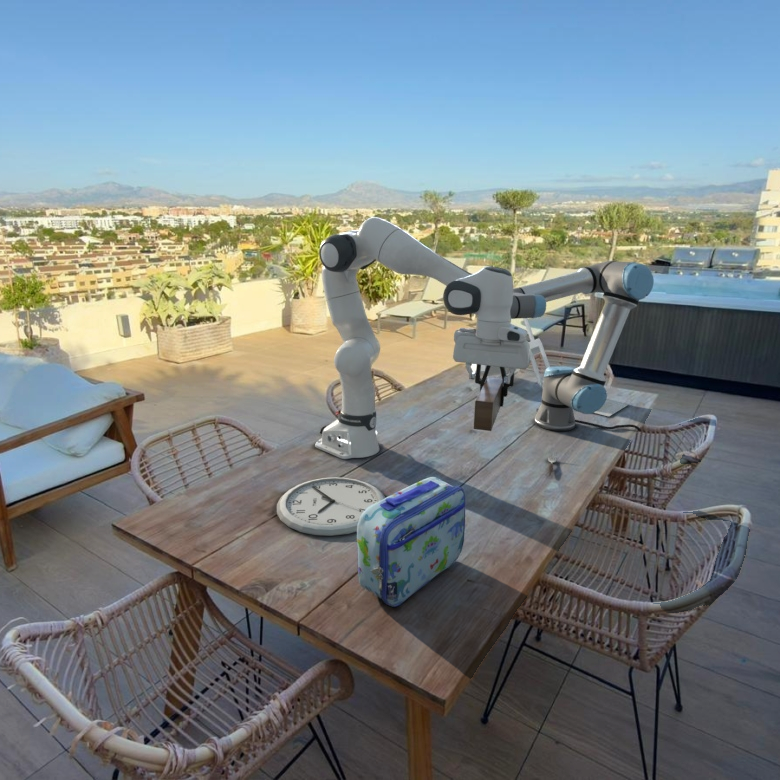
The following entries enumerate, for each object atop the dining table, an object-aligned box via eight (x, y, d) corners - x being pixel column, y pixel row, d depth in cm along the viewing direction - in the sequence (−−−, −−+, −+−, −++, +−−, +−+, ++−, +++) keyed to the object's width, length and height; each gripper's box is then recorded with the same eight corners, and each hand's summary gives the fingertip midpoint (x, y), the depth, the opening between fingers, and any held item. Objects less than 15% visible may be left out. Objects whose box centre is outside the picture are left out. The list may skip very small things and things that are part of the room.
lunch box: (386, 620, 101) (388, 525, 95) (350, 593, 108) (349, 503, 102) (468, 563, 119) (474, 480, 112) (432, 543, 126) (436, 464, 120)
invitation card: (608, 416, 214) (573, 407, 224) (608, 416, 214) (573, 408, 224) (628, 404, 229) (594, 396, 238) (628, 405, 229) (594, 397, 238)
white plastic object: (490, 419, 266) (470, 396, 241) (471, 346, 288) (451, 319, 263) (561, 395, 253) (548, 368, 229) (535, 321, 276) (521, 290, 251)
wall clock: (392, 527, 129) (268, 531, 127) (391, 533, 130) (269, 537, 127) (383, 473, 158) (282, 475, 155) (383, 478, 158) (282, 480, 156)
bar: (486, 401, 183) (488, 376, 180) (502, 402, 182) (504, 377, 179) (473, 429, 158) (475, 400, 155) (491, 431, 156) (493, 402, 154)
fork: (545, 476, 161) (545, 470, 161) (548, 456, 176) (549, 450, 175) (553, 477, 160) (554, 471, 160) (556, 457, 175) (557, 452, 174)
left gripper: (451, 329, 138) (448, 379, 142) (530, 336, 131) (525, 388, 135) (457, 325, 144) (454, 373, 148) (533, 331, 136) (528, 382, 141)
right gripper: (467, 337, 171) (464, 404, 178) (525, 341, 165) (519, 410, 172) (471, 333, 177) (468, 398, 184) (527, 337, 172) (521, 403, 179)
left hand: (489, 381), depth 141 cm, fingers open, 8 cm apart
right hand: (492, 404), depth 178 cm, fingers closed on bar, 5 cm apart
